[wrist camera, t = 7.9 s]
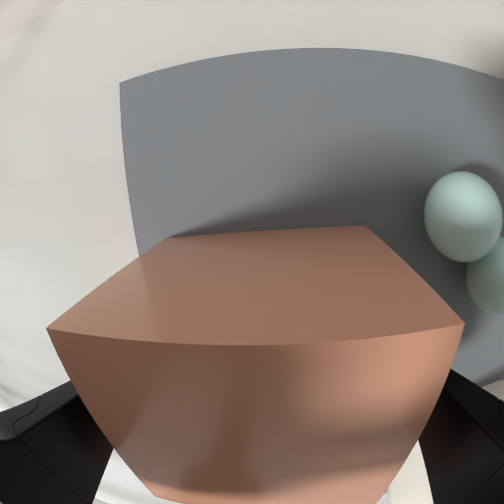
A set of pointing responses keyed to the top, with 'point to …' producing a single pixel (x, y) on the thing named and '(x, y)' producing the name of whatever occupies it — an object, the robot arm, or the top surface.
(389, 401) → the salmon pink cube
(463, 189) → the marble
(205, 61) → the mat
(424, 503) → the ivory rectangular chunk
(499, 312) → the marble
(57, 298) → the top surface
